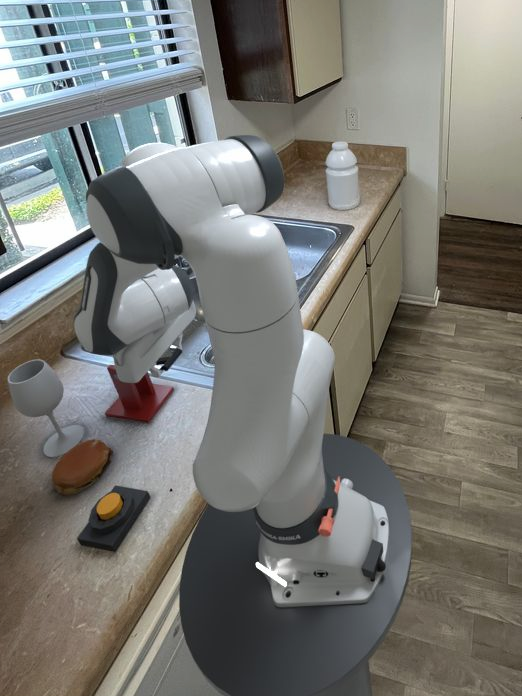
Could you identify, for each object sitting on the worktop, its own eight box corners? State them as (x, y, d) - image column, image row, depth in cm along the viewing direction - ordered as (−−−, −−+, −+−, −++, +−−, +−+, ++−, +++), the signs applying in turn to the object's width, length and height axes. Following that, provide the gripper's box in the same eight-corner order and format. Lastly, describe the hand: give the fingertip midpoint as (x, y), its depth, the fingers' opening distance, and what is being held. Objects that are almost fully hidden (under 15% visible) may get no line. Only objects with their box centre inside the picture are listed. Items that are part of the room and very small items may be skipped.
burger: (45, 498, 84) (36, 484, 82) (74, 451, 92) (67, 437, 90) (99, 493, 84) (91, 479, 82) (123, 447, 93) (116, 433, 91)
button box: (150, 497, 84) (145, 485, 82) (115, 552, 76) (108, 540, 74) (118, 491, 85) (112, 479, 83) (80, 545, 77) (72, 532, 75)
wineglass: (93, 427, 97) (60, 358, 88) (64, 461, 90) (24, 390, 81) (64, 422, 98) (28, 353, 89) (33, 455, 91) (-9, 384, 82)
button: (127, 500, 80) (124, 494, 79) (112, 521, 77) (109, 516, 76) (109, 496, 80) (107, 491, 80) (94, 518, 77) (91, 512, 76)
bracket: (174, 389, 106) (159, 347, 100) (149, 423, 98) (131, 379, 92) (133, 384, 107) (117, 342, 101) (105, 416, 99) (85, 373, 93)
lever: (184, 354, 96) (179, 346, 95) (170, 372, 92) (164, 364, 91) (132, 362, 100) (126, 354, 100) (116, 379, 96) (110, 371, 95)
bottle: (330, 212, 186) (323, 150, 173) (327, 198, 198) (321, 139, 186) (362, 208, 188) (358, 147, 176) (358, 194, 201) (354, 136, 188)
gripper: (126, 352, 79) (147, 405, 85) (194, 283, 97) (207, 331, 103) (96, 349, 80) (119, 401, 86) (168, 281, 98) (183, 328, 104)
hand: (168, 362), depth 94 cm, fingers closed on lever, 5 cm apart
